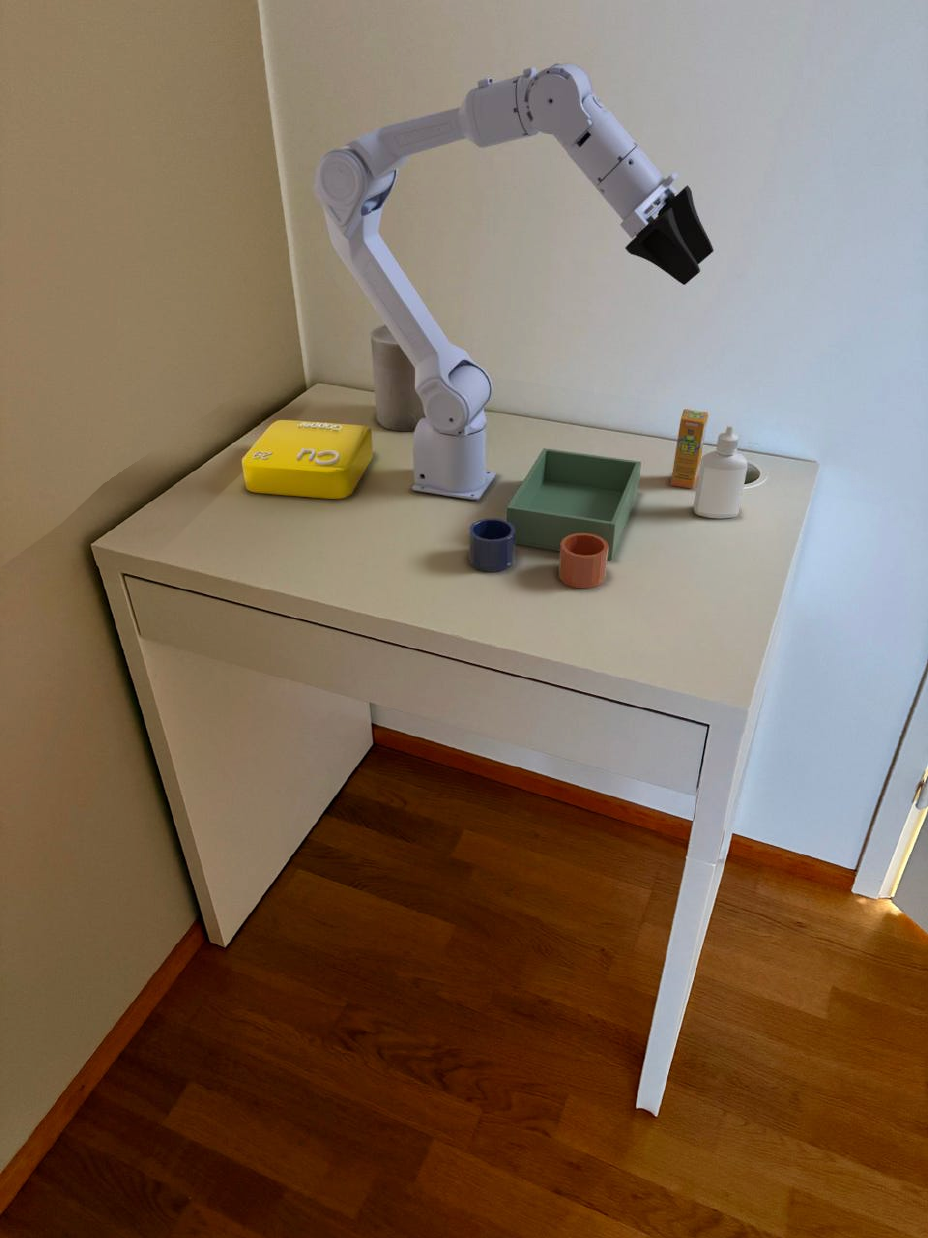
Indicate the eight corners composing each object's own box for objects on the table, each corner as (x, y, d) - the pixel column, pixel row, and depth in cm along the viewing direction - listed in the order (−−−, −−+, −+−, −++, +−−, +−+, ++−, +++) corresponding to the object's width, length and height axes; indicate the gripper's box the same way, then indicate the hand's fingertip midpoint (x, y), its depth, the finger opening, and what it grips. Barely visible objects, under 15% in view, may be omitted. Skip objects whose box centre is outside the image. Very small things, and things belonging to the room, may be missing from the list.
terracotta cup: (553, 583, 105) (555, 552, 103) (564, 560, 109) (567, 529, 107) (599, 592, 104) (602, 561, 101) (609, 567, 108) (612, 537, 105)
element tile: (376, 452, 133) (374, 421, 131) (348, 501, 121) (345, 469, 119) (278, 445, 136) (274, 414, 133) (241, 492, 124) (235, 460, 121)
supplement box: (669, 486, 124) (678, 417, 118) (674, 475, 127) (684, 407, 121) (693, 490, 123) (704, 421, 117) (698, 479, 126) (709, 410, 120)
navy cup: (463, 567, 108) (462, 537, 106) (477, 545, 112) (477, 515, 110) (506, 575, 107) (507, 544, 104) (519, 552, 111) (520, 522, 108)
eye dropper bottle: (729, 525, 116) (746, 437, 109) (688, 513, 118) (701, 426, 111) (742, 511, 119) (759, 425, 111) (701, 499, 121) (715, 414, 114)
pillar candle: (448, 412, 145) (446, 317, 136) (420, 436, 138) (417, 337, 129) (393, 402, 148) (388, 309, 139) (364, 425, 141) (357, 328, 132)
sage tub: (505, 542, 113) (506, 507, 110) (542, 480, 126) (543, 447, 123) (611, 560, 109) (615, 524, 106) (637, 494, 122) (641, 461, 120)
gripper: (627, 151, 88) (717, 261, 91) (661, 124, 99) (740, 223, 101) (576, 205, 93) (662, 307, 95) (613, 173, 103) (690, 266, 106)
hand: (699, 267), depth 99 cm, fingers open, 7 cm apart
